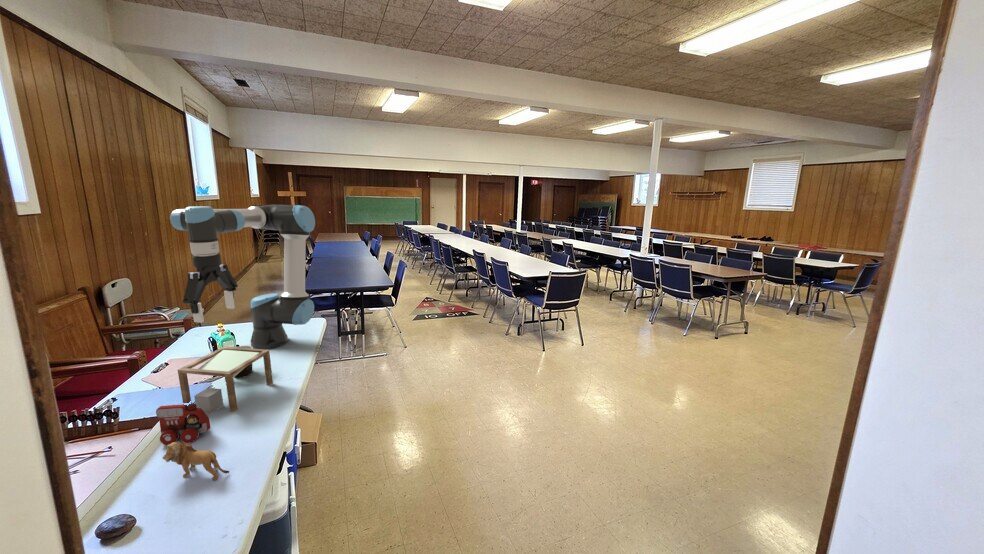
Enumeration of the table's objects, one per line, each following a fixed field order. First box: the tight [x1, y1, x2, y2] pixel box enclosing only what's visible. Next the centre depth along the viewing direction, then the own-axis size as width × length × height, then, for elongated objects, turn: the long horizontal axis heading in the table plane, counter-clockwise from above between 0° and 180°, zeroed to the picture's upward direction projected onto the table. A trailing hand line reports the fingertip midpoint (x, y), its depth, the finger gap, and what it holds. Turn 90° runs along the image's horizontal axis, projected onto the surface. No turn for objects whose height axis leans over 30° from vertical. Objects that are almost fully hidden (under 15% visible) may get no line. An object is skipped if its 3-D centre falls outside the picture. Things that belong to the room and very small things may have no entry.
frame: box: [177, 346, 274, 413], centre depth 132 cm, size 19×18×14 cm
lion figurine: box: [162, 441, 230, 481], centre depth 96 cm, size 15×5×9 cm, turn 92°
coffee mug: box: [234, 345, 254, 379], centre depth 149 cm, size 12×9×10 cm
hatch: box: [197, 350, 260, 378], centre depth 132 cm, size 13×14×1 cm
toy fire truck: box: [155, 402, 211, 446], centre depth 110 cm, size 7×12×10 cm, turn 102°
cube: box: [194, 387, 224, 415], centre depth 124 cm, size 5×5×6 cm
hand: (215, 315), depth 129 cm, fingers open, 13 cm apart
